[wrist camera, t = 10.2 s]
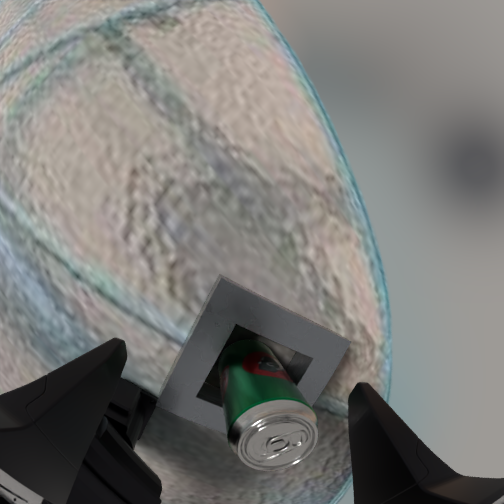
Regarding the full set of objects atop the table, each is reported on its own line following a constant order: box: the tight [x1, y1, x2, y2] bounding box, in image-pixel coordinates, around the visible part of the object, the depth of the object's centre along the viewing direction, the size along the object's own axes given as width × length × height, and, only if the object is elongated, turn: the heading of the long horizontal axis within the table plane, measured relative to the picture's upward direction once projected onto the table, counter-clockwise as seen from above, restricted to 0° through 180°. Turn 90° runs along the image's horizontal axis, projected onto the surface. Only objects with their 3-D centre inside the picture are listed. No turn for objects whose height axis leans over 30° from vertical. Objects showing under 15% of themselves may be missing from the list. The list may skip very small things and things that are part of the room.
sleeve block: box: [156, 274, 351, 434], centre depth 21 cm, size 12×12×4 cm
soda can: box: [218, 339, 318, 471], centre depth 17 cm, size 5×5×12 cm
